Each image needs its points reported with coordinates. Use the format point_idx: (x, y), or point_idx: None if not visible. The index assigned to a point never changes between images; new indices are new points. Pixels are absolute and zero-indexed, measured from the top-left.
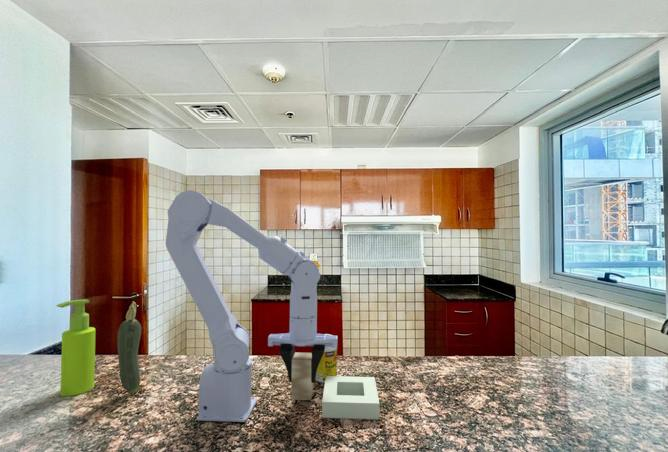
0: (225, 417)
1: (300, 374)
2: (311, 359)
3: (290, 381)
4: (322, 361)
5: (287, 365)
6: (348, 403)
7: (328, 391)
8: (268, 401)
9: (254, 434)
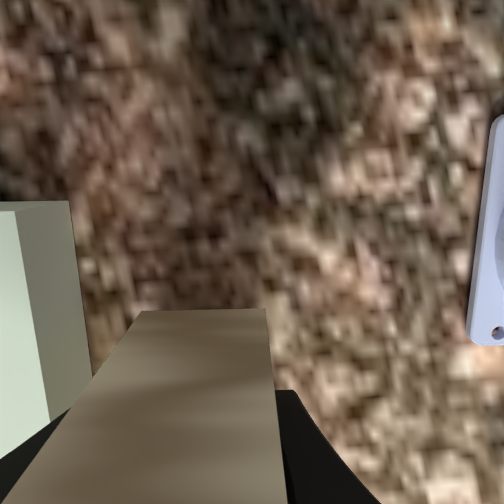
0: None
1: (181, 413)
2: None
3: (285, 391)
4: None
5: (346, 495)
6: None
7: (3, 353)
8: (399, 334)
9: (416, 11)
